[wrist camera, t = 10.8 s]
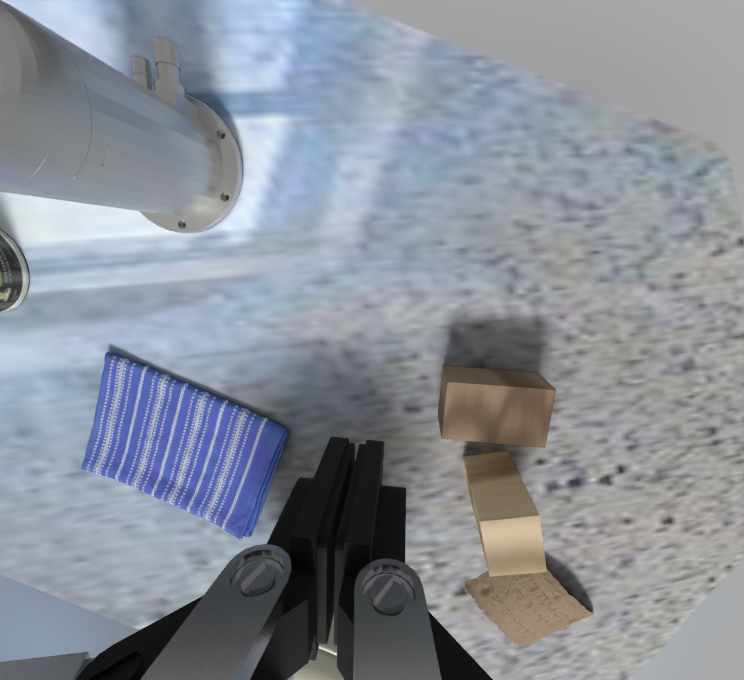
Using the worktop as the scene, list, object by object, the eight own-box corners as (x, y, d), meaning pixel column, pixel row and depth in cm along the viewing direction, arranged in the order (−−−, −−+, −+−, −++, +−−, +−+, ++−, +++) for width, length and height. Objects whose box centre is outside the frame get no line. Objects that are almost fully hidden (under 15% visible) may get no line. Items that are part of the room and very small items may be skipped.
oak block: (462, 456, 40) (479, 521, 31) (507, 450, 39) (539, 515, 30) (471, 500, 42) (489, 576, 32) (514, 495, 41) (546, 571, 31)
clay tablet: (459, 577, 45) (462, 597, 43) (524, 537, 43) (531, 556, 40) (531, 645, 47) (538, 669, 44) (597, 611, 44) (609, 633, 42)
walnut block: (538, 371, 37) (442, 365, 38) (557, 390, 32) (447, 381, 33) (529, 423, 39) (437, 415, 39) (546, 448, 34) (441, 438, 35)
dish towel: (255, 530, 47) (245, 548, 44) (91, 461, 47) (71, 474, 44) (296, 425, 42) (289, 437, 39) (115, 347, 42) (94, 354, 39)
